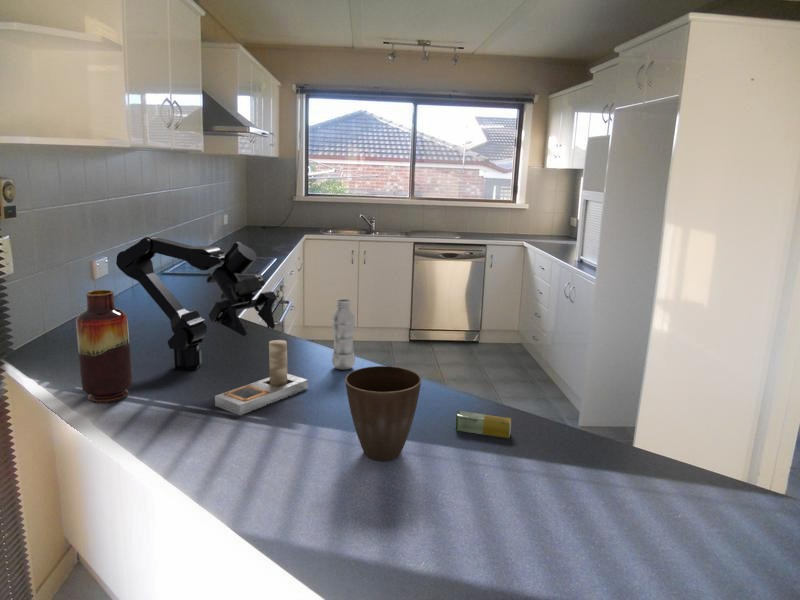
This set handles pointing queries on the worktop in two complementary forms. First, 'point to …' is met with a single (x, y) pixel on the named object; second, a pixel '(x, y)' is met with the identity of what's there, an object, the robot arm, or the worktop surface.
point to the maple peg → (278, 362)
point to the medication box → (483, 424)
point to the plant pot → (382, 408)
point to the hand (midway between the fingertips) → (260, 331)
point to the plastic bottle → (343, 336)
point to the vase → (104, 349)
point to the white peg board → (258, 394)
